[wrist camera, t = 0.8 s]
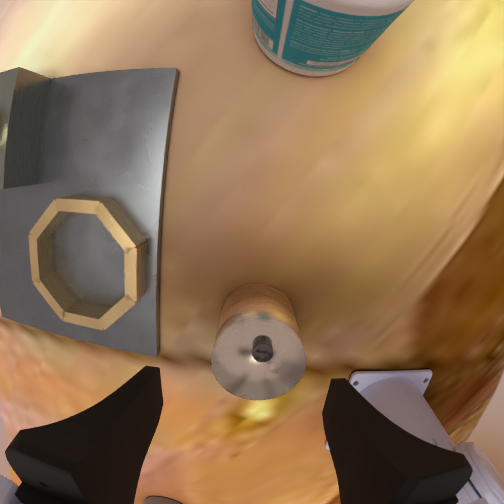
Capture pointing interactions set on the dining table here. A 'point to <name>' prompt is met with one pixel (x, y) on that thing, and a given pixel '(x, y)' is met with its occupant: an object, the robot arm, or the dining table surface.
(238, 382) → the spout can
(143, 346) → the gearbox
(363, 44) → the pill bottle
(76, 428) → the robot arm
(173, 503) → the lotion bottle
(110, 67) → the dining table surface
